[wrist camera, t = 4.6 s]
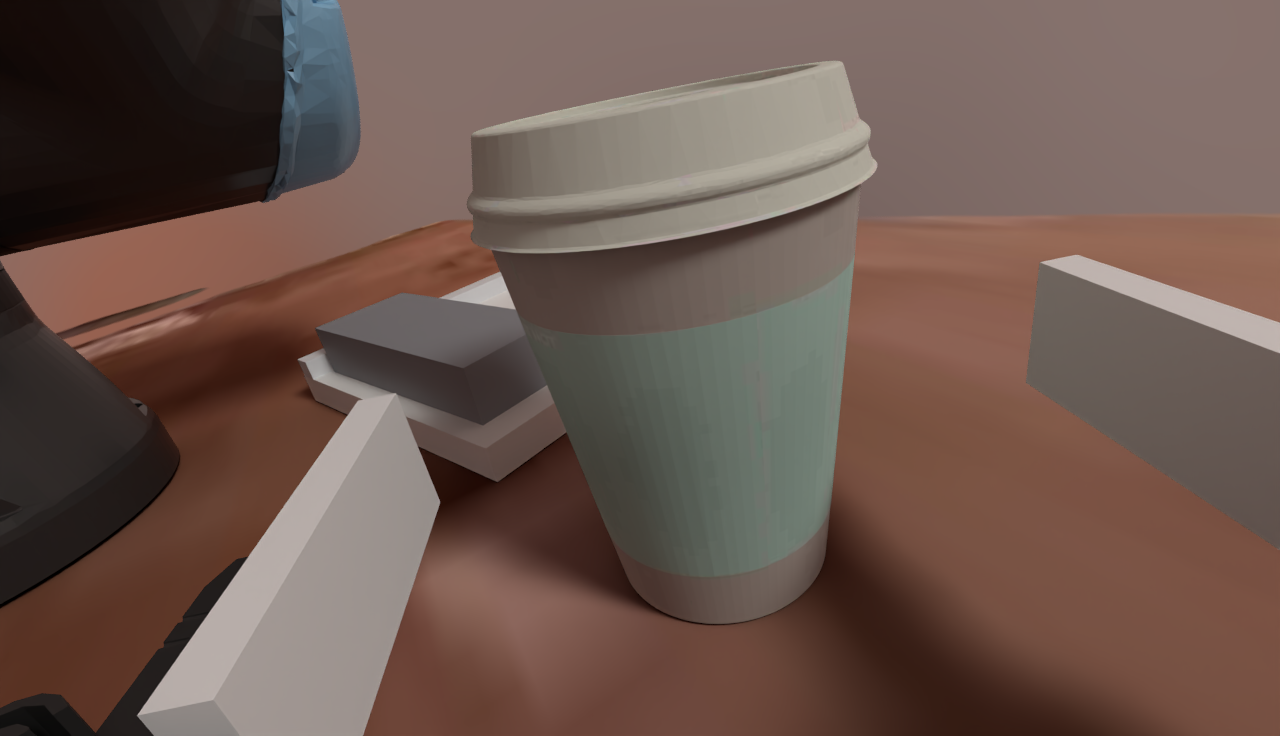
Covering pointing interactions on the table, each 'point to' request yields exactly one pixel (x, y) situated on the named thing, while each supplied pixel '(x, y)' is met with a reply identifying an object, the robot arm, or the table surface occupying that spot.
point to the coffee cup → (691, 316)
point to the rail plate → (459, 434)
